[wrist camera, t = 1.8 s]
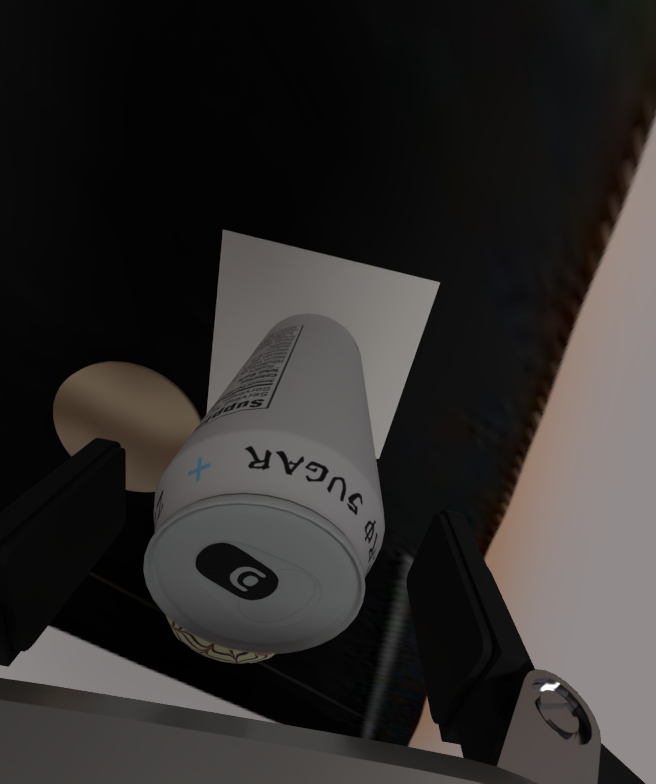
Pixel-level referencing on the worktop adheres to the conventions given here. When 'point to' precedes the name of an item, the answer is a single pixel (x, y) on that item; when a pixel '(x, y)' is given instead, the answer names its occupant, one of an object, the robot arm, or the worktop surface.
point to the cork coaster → (126, 417)
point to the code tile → (324, 297)
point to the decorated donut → (215, 648)
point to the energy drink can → (273, 499)
